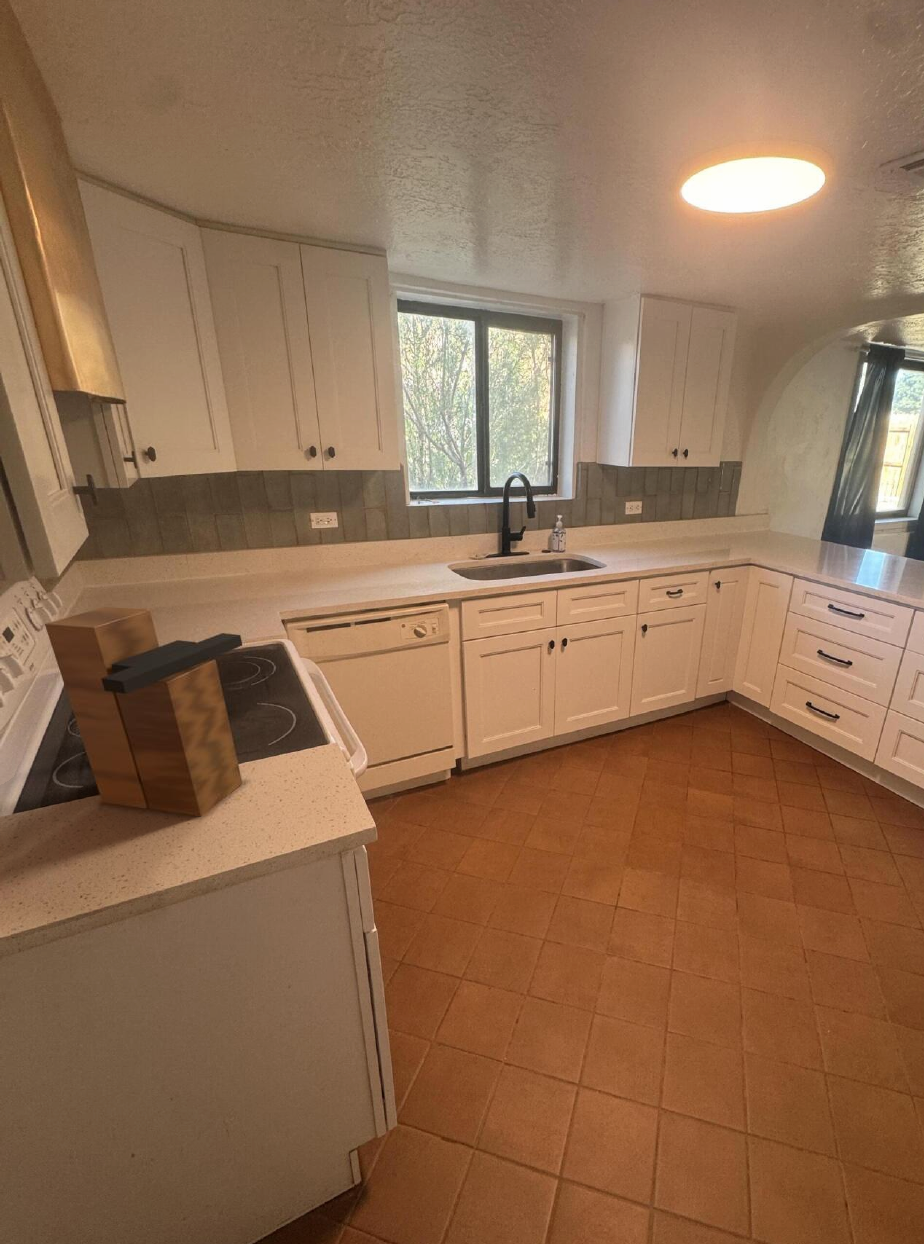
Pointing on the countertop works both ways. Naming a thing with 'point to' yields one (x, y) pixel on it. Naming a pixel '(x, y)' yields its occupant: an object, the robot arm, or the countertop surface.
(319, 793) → the countertop surface
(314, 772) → the countertop surface
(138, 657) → the short pad
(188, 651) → the long pad
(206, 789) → the step stand
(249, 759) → the countertop surface
